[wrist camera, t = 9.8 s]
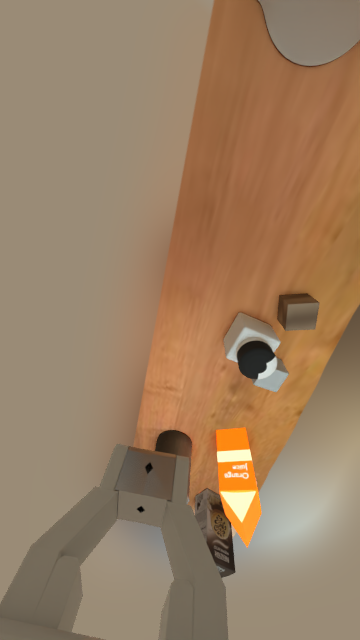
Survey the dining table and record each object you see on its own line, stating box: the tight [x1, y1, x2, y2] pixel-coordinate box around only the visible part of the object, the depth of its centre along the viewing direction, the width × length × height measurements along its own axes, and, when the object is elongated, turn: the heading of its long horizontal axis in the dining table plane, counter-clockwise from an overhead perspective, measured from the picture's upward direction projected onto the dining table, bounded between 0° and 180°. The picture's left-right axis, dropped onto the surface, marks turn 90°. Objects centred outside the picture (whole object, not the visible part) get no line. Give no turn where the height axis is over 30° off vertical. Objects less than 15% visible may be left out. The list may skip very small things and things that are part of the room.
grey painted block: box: [252, 358, 289, 392], centre depth 48 cm, size 5×5×5 cm
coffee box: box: [195, 489, 235, 578], centre depth 65 cm, size 9×6×16 cm
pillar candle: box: [155, 430, 192, 504], centre depth 56 cm, size 10×10×15 cm
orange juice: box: [216, 428, 261, 546], centre depth 51 cm, size 8×9×20 cm
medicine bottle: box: [223, 312, 280, 379], centre depth 42 cm, size 7×7×12 cm
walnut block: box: [278, 294, 319, 331], centre depth 42 cm, size 5×5×5 cm
